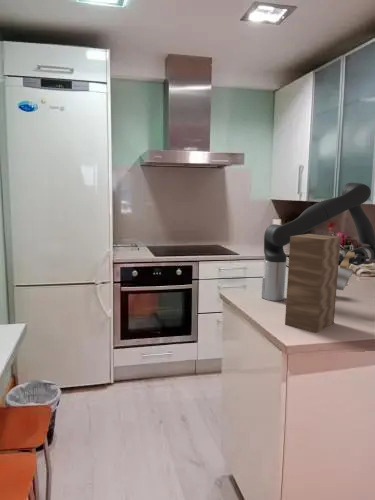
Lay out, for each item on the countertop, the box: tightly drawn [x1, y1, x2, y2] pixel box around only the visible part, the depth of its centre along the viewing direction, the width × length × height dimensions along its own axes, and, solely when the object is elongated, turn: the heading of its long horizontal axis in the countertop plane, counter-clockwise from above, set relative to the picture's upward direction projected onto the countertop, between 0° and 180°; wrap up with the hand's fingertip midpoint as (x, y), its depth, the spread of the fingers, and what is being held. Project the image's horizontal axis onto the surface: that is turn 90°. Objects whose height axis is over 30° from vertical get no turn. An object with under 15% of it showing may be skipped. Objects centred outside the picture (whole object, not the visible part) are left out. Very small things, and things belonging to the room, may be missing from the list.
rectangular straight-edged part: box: [336, 250, 355, 291], centre depth 164 cm, size 22×8×3 cm, turn 138°
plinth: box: [284, 233, 342, 333], centre depth 142 cm, size 15×12×32 cm
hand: (346, 260), depth 166 cm, fingers closed on rectangular straight-edged part, 2 cm apart
